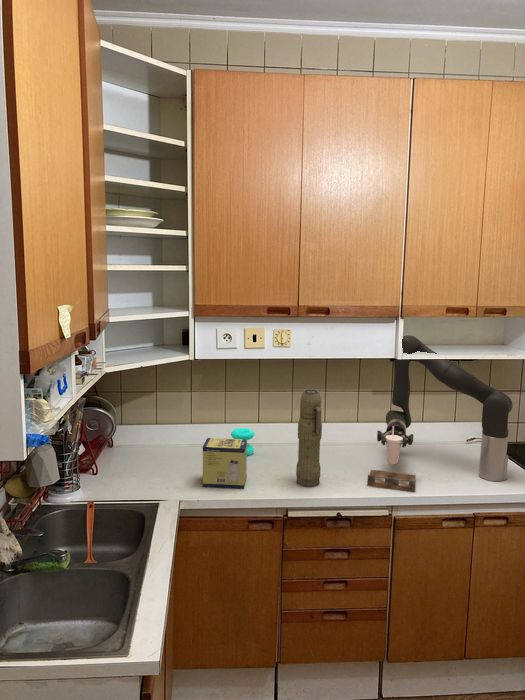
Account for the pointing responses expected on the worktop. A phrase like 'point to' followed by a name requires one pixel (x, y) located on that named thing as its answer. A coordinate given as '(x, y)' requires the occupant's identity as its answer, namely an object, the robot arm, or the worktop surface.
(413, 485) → the shelf board
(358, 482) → the worktop surface
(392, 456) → the smoothie
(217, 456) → the protein box
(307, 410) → the thermos
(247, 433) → the donuts
